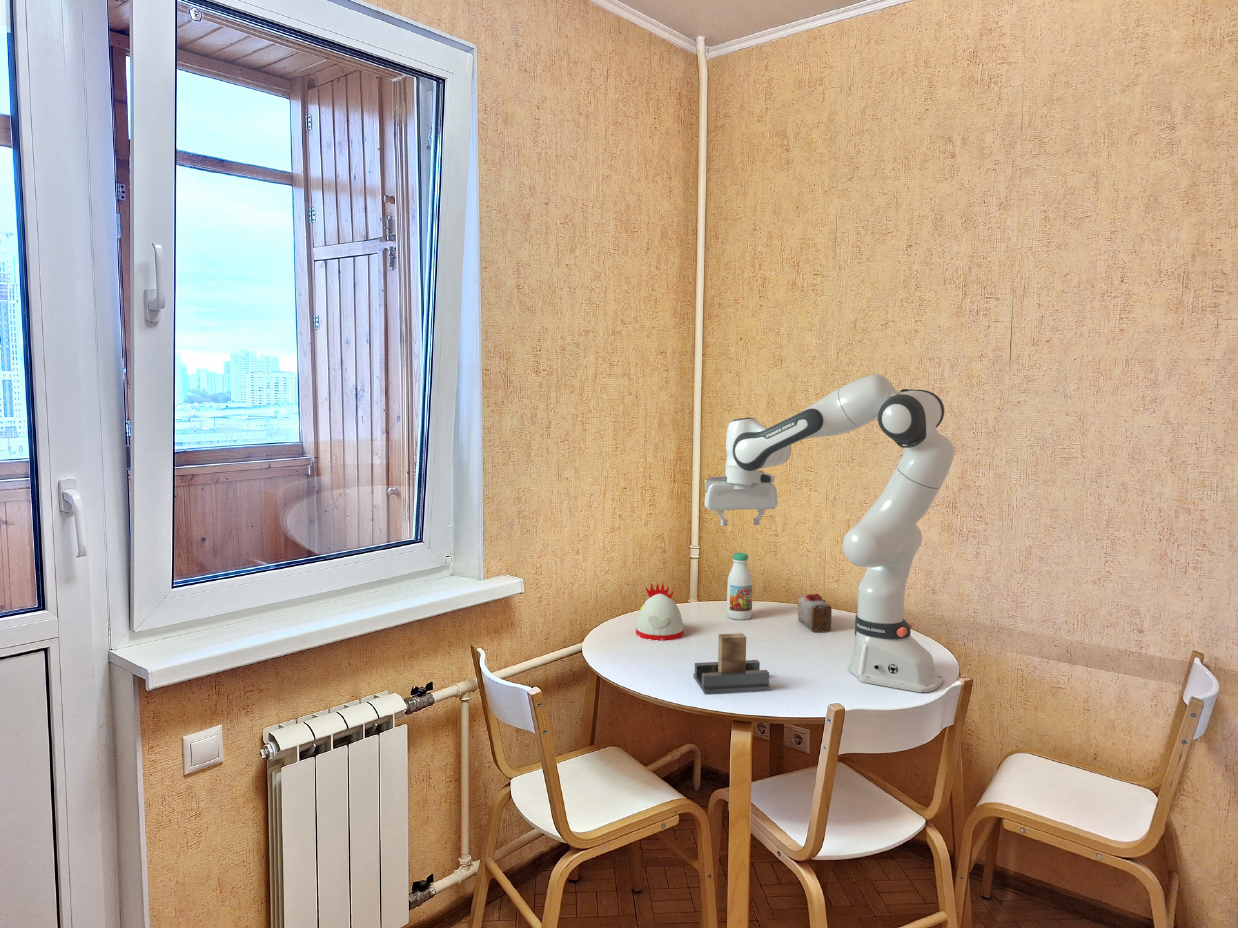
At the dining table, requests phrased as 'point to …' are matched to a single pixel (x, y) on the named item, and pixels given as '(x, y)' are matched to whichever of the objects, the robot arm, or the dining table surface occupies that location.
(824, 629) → the food item
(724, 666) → the wooden block
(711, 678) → the door track
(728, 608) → the milk bottle
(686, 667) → the dining table surface
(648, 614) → the kitchen timer
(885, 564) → the robot arm
